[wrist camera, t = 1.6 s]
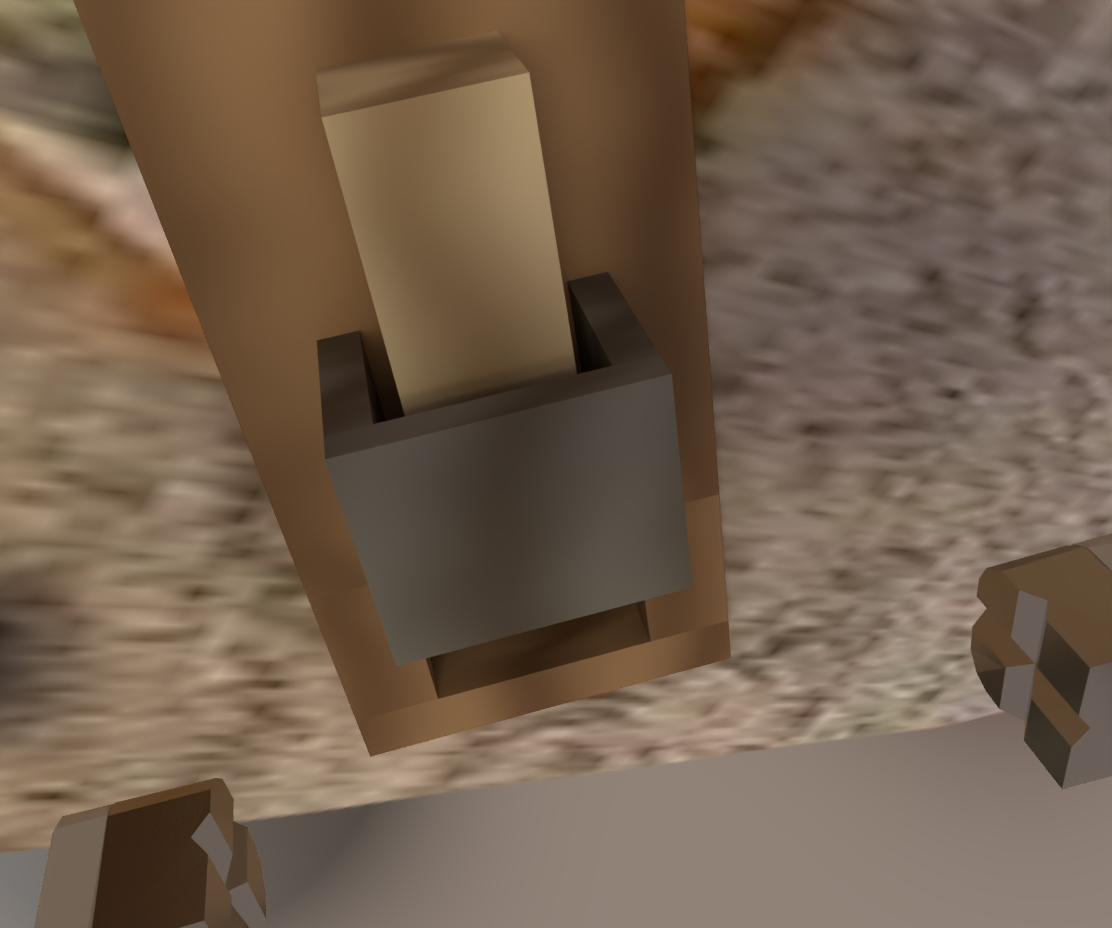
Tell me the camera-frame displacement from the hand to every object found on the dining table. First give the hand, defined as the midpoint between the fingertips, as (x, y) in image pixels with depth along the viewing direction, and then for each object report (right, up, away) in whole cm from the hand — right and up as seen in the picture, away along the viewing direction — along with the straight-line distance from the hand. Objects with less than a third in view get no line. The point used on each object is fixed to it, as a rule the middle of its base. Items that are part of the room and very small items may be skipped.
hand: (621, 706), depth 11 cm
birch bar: (-3, +7, +19) cm, 20 cm away
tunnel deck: (-4, +8, +21) cm, 23 cm away
